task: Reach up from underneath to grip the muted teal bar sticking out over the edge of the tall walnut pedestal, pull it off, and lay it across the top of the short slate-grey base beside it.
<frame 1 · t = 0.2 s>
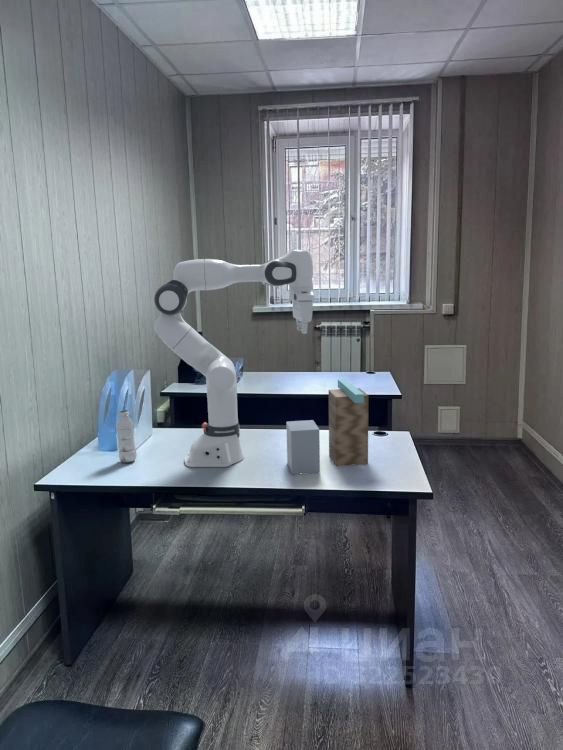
hand: (302, 332, 203), 48 cm above the table, tool pointing down, fingers open, 8 cm apart
plastic bottle: (128, 462, 209), on the table
walnut pedestal: (348, 459, 205), on the table
slate base: (303, 467, 198), on the table
teal bar: (350, 394, 197), point 26 cm above the table, touching walnut pedestal
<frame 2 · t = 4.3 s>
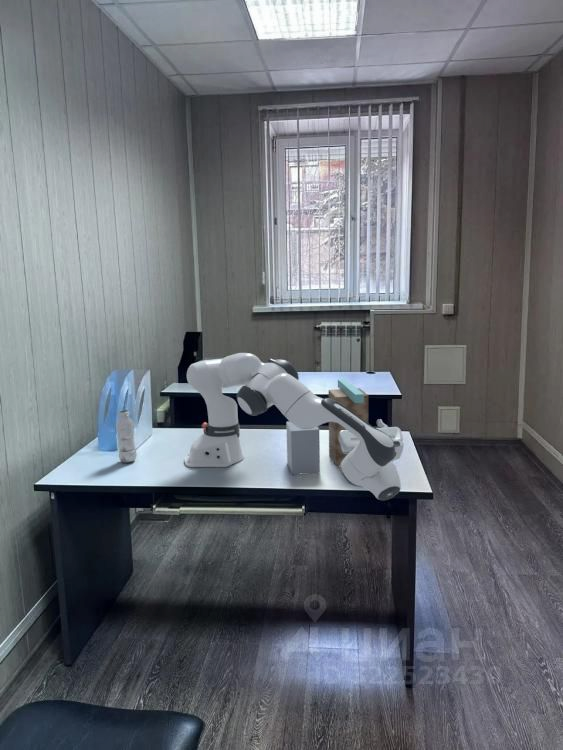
hand: (364, 421, 179), 21 cm above the table, tool pointing upward, fingers open, 8 cm apart
nothing on the table moved.
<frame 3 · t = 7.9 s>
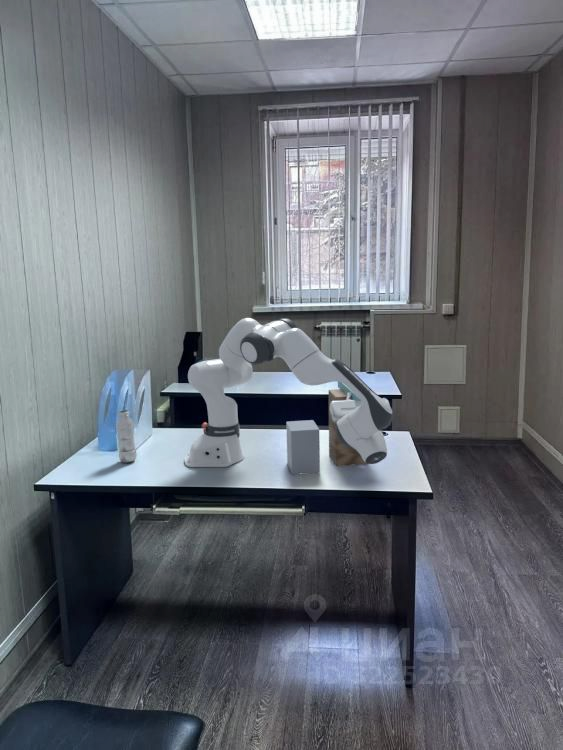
hand: (355, 393, 190), 28 cm above the table, tool pointing upward, fingers closed on teal bar, 3 cm apart
teal bar: (349, 394, 197), point 26 cm above the table, touching gripper, walnut pedestal
everything else where it was.
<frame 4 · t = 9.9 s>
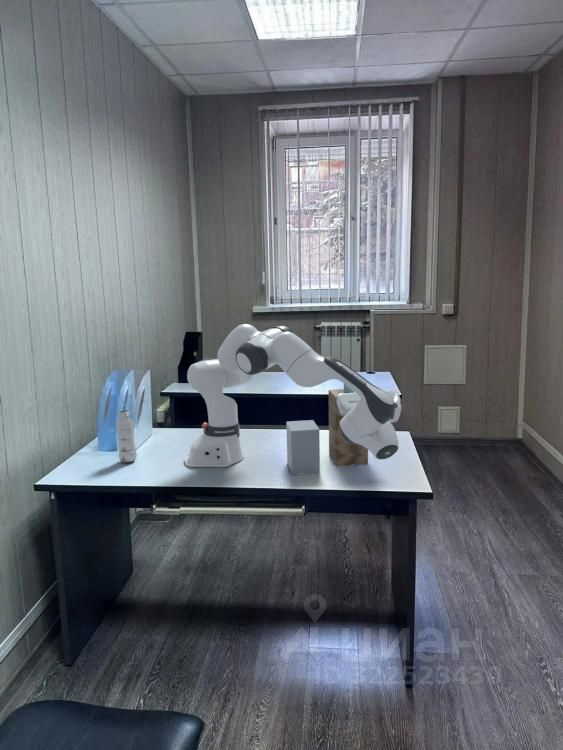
hand: (362, 386, 181), 32 cm above the table, tool pointing upward, fingers closed on teal bar, 3 cm apart
teal bar: (357, 392, 188), point 29 cm above the table, tilted 11°, touching gripper
everything else where it was.
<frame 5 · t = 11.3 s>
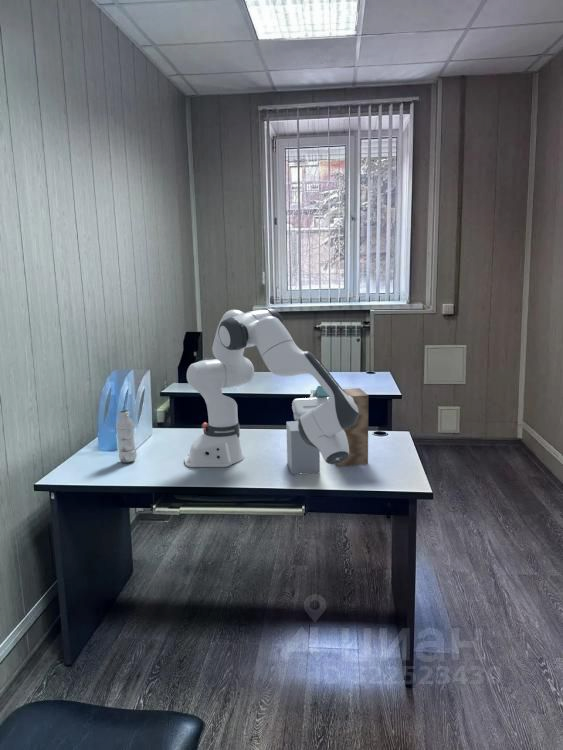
hand: (319, 391, 182), 31 cm above the table, tool pointing upward, fingers closed on teal bar, 3 cm apart
teal bar: (316, 407, 188), point 24 cm above the table, tilted 34°, touching gripper
everything else where it was.
when the fingers open (20 cm above the table, at t = 15.0 s): teal bar stays where it is, resting on slate base.
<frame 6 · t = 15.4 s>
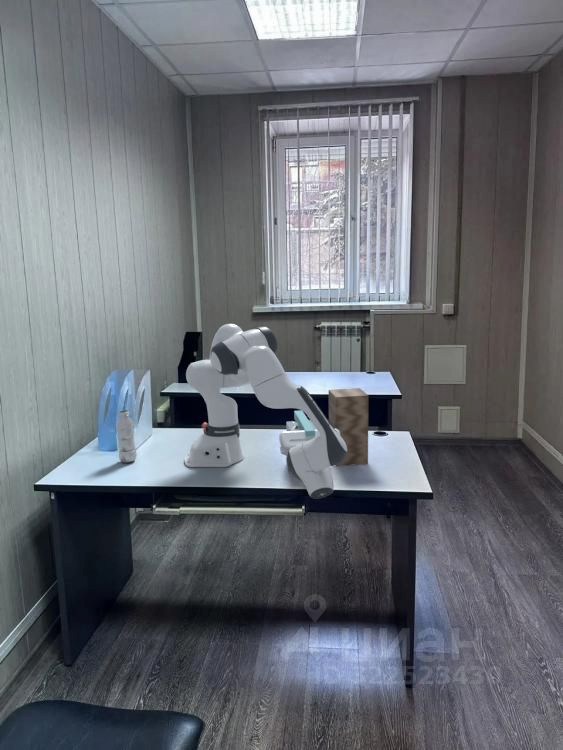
hand: (306, 423, 185), 19 cm above the table, tool pointing upward, fingers open, 6 cm apart
teal bar: (304, 428, 191), point 16 cm above the table, touching slate base
everything else where it was.
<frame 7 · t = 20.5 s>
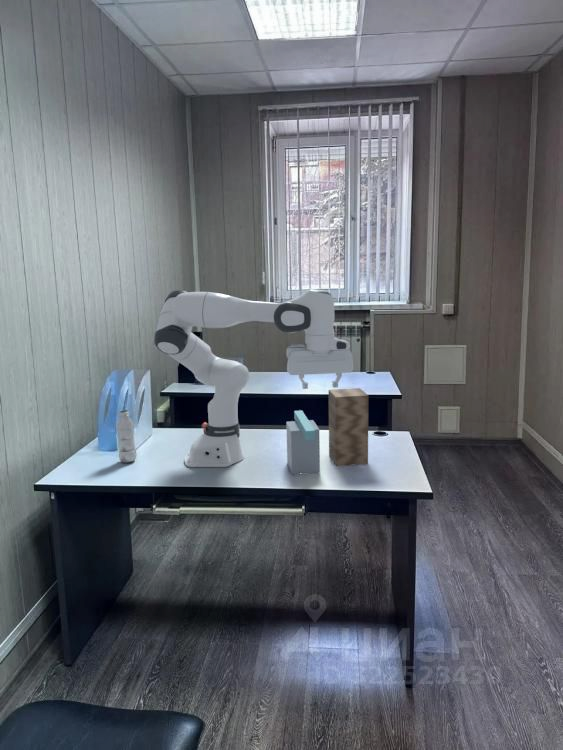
hand: (320, 387, 167), 35 cm above the table, tool pointing down, fingers open, 8 cm apart
nothing on the table moved.
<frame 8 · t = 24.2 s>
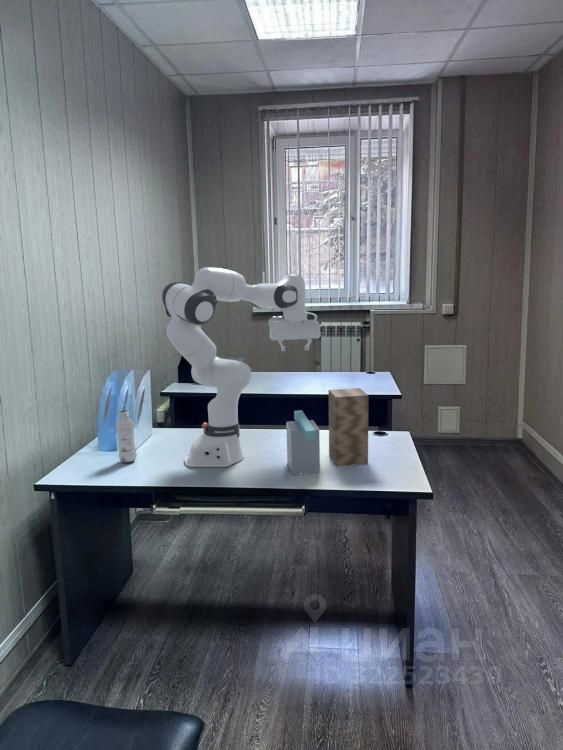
hand: (295, 350, 217), 39 cm above the table, tool pointing down, fingers open, 8 cm apart
nothing on the table moved.
at the end: teal bar inside the target area on the slate base (2.6 cm from its centre), point 16.0 cm above the slate base's base; teal bar touching slate base; the gripper is holding nothing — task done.
